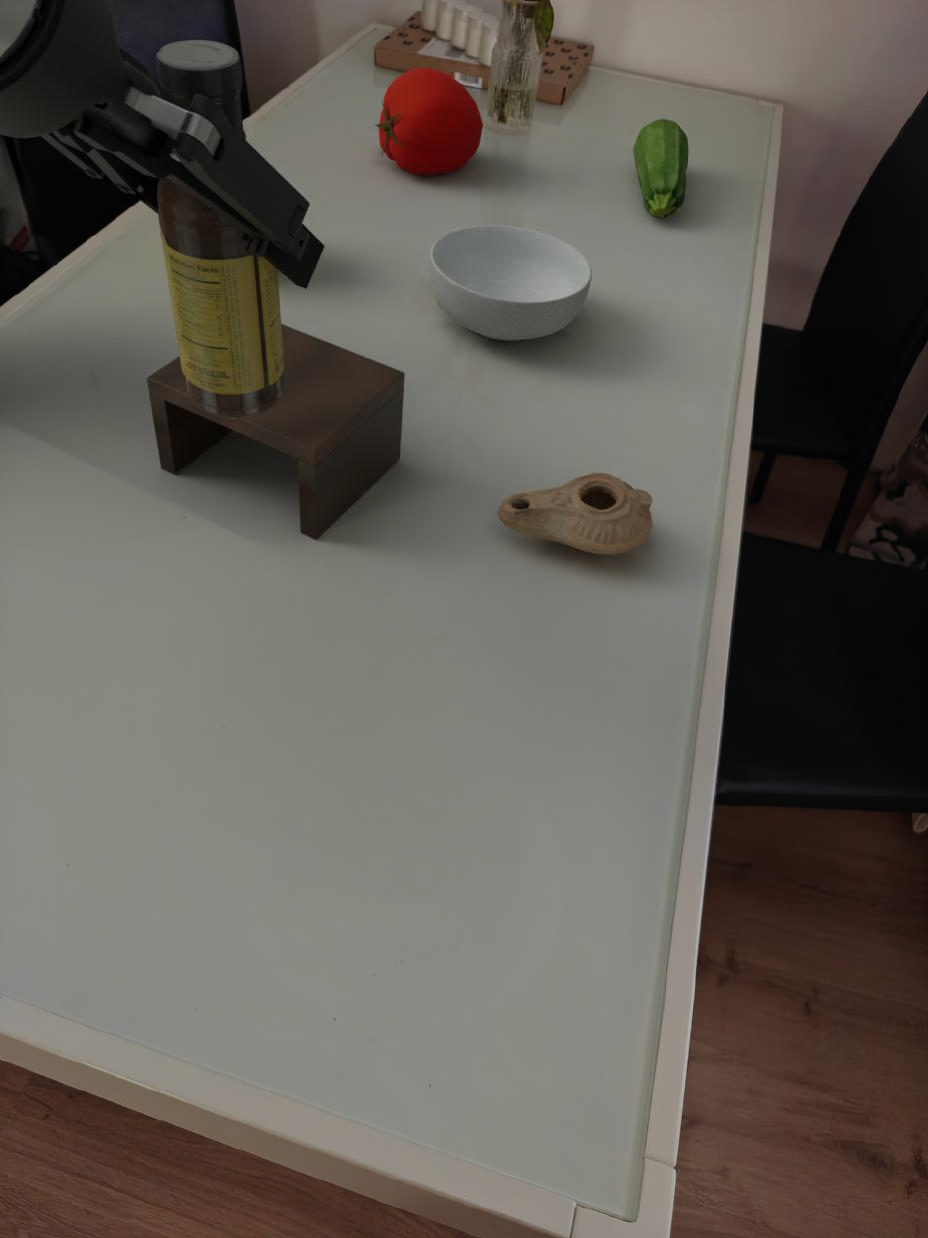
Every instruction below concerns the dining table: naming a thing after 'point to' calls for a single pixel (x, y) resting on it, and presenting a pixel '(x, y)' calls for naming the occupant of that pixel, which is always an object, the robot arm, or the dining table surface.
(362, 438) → the shelf
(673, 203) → the vegetable
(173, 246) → the sauce bottle
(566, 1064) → the dining table surface
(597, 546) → the pottery oil lamp
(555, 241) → the cereal bowl
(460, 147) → the tomato
